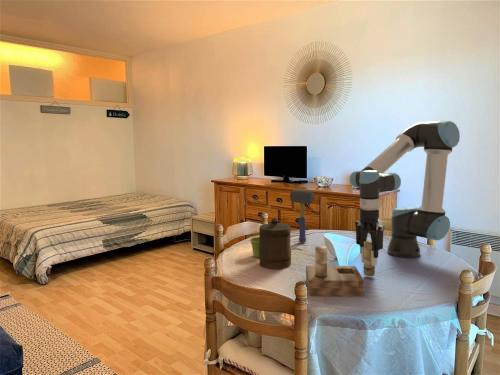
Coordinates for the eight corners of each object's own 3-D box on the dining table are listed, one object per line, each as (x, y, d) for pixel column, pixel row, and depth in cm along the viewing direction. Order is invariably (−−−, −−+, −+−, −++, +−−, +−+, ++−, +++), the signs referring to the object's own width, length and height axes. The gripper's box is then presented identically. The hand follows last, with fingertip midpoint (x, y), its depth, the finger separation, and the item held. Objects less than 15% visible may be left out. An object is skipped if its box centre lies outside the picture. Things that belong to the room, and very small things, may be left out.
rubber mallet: (315, 242, 210) (315, 189, 206) (309, 245, 204) (308, 191, 200) (296, 239, 217) (295, 188, 213) (289, 242, 211) (288, 190, 207)
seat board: (355, 279, 154) (355, 239, 151) (363, 296, 138) (364, 251, 136) (306, 279, 155) (305, 240, 153) (309, 295, 139) (308, 251, 137)
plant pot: (271, 257, 186) (271, 240, 185) (254, 260, 182) (254, 242, 181) (264, 252, 194) (264, 236, 193) (247, 254, 191) (247, 238, 190)
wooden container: (297, 263, 177) (296, 217, 174) (278, 271, 166) (277, 223, 163) (272, 257, 186) (271, 213, 184) (253, 265, 175) (251, 219, 173)
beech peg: (373, 272, 158) (373, 240, 156) (376, 276, 154) (376, 243, 152) (362, 272, 159) (362, 240, 157) (364, 276, 154) (364, 243, 152)
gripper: (346, 206, 158) (347, 259, 161) (381, 212, 143) (380, 271, 146) (358, 204, 162) (358, 256, 165) (393, 210, 147) (392, 267, 150)
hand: (369, 263), depth 156 cm, fingers closed on beech peg, 4 cm apart
